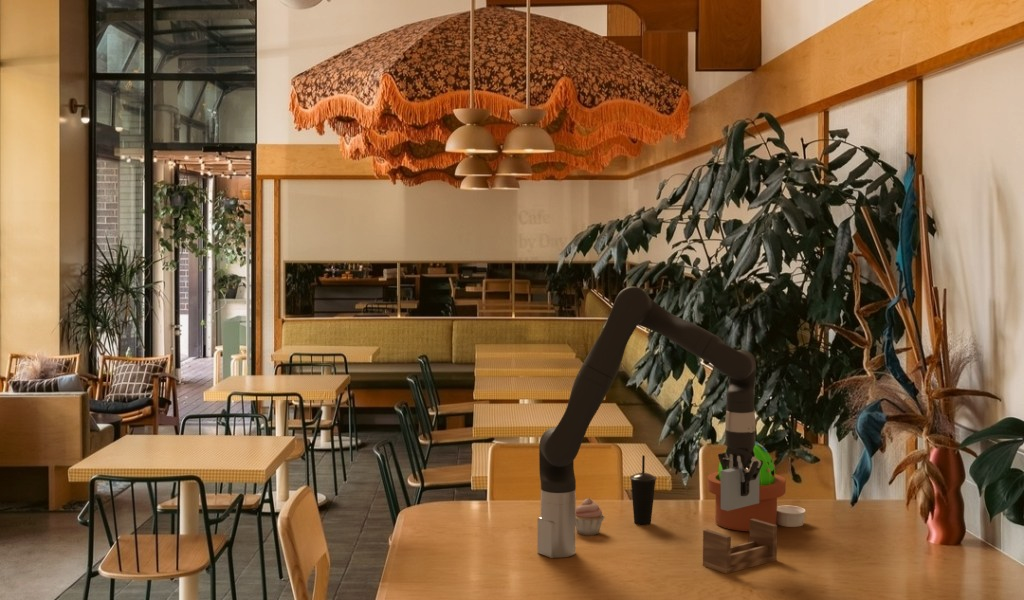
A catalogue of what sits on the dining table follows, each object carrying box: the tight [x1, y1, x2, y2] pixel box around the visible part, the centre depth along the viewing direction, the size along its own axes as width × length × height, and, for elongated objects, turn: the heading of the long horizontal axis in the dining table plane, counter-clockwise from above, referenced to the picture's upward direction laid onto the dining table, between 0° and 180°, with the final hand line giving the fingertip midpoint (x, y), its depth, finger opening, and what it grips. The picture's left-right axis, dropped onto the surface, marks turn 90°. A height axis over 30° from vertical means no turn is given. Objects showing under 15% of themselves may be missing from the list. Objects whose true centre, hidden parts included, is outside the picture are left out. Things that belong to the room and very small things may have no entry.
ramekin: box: [776, 504, 806, 528], centre depth 321 cm, size 9×9×4 cm
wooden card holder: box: [702, 519, 778, 574], centre depth 283 cm, size 19×8×9 cm, turn 126°
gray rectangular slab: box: [721, 467, 759, 511], centre depth 283 cm, size 12×2×10 cm, turn 127°
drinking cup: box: [629, 455, 657, 526], centre depth 320 cm, size 8×8×20 cm
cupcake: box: [575, 497, 606, 536], centre depth 310 cm, size 9×9×10 cm
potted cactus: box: [707, 440, 787, 533], centre depth 319 cm, size 22×22×25 cm
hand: (740, 494), depth 283 cm, fingers closed on gray rectangular slab, 2 cm apart
